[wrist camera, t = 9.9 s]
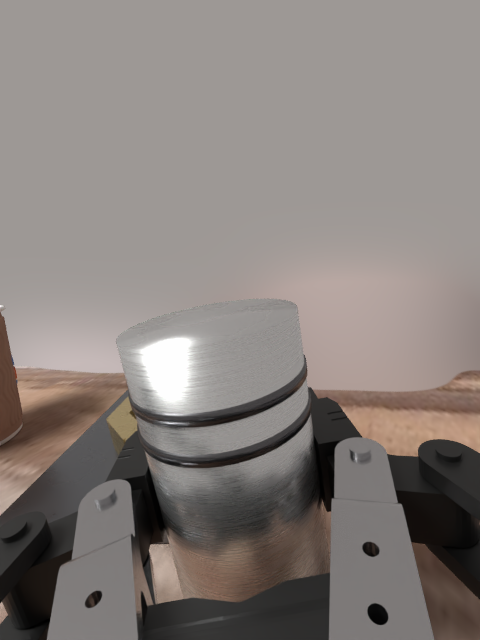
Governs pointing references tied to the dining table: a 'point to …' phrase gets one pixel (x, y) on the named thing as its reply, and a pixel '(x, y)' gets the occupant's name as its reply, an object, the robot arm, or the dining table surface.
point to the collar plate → (79, 467)
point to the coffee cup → (8, 389)
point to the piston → (229, 444)
